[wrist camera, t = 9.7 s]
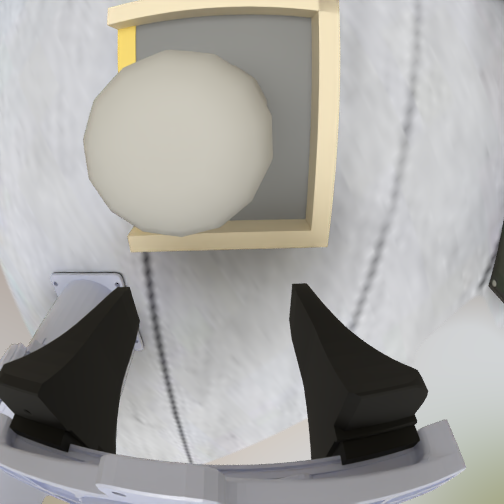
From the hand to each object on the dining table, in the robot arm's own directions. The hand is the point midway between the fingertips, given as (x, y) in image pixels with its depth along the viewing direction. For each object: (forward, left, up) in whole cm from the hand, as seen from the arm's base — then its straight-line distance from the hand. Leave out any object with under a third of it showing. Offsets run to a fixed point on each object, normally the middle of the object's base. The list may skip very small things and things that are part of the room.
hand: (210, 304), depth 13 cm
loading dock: (+7, 0, -10) cm, 13 cm away
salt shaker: (+7, 0, -9) cm, 11 cm away
